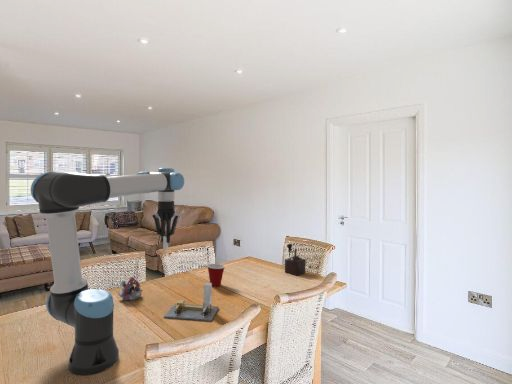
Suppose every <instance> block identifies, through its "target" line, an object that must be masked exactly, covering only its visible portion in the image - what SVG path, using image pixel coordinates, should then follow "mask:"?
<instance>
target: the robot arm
mask: <svg viewBox="0 0 512 384" xmlns="http://www.w3.org/2000/svg"><path fill="white" fill-rule="evenodd" d="M184 185H185V177H184V175H183V174H182V173H181V172H176V171H175V169H174V168H172V167H171V168H167V167H160V168H158V169H157V171H139V172H137V174H126V175H116V176H106V175H105V174H103V173H101V174H99V173H95V174H94V173H93V174H90V173H81V172H72V171H54V170H53V171H49V172H48V171H47V172H44V173H40V174H39V175H37V176H36V178H35V179H34V180H33V181H32V182H31V185H30V195H31V197H32V198H33V200H34V201H35V202H36V203H37V204H38V209H39V214H40V215H42V216H43V217H45V221H46V227H47V228H46V230H47V234H48V243H49V252H50V258H51V259H50V260H51V265H52V266H51V267H52V274H53V282H54V283H53V285H51V287H50V288H49V291H50V293H49V296H48V297H46V302H45V306H46V311H47V312H48V313H47V314H49V315H50V316H51V317H52V318H54V319H55V320H56V321H58V322H61V323H64V324H66V325H68V326H70V327H73V329H74V345H73V348H72V350H71V353H70V355H69V357H68V358H69V359H68V370H69V371H70V372H71V373H72V374H74V375H80V376H84V375H85V376H86V375H87V374H89V375H93V373H94V374H97V372H98V373H100V371H101V372H103V371H105V369H106V370H108V369H109V368H111V367H112V366H114V365H115V364H116V363H115V362H117V361H118V360H119V356H120V355H119V351H120V350H119V347H118V346H117V342H116V340H115V337H114V307H115V304H114V297H113V294H112V293H111V292H109V291H108V290H107V289H106V290H105V289H101V288H99V289H98V288H90V289H89V283H88V279H85V278H84V277H83V274H82V266H81V265H82V264H81V258H80V257H81V255H80V247H79V238H78V237H79V236H78V229H77V222H76V220H77V219H76V213H77V212H78V211H79V210H80V207H84V206H90V205H94V204H95V205H96V204H99V203H106V202H108V200H110V199H115V198H120V197H121V198H122V197H128V196H136V195H142V194H149V193H156V192H157V200H158V201H157V212H156V213H154V214H152V215H151V216H152V218H153V220H154V223H155V229H156V232H157V235H159V236H160V237H161V241H160V242H161V243H162V250H163V251H167V250H168V249H169V244H170V243H171V236H173V235H174V234H175V231H176V228H177V223H178V221H179V219H180V215H179V214H177V213H176V211H175V201H174V200H175V191H180V190H182V189H183V187H184ZM172 218H173V219H172ZM171 222H172V223H171ZM114 363H115V364H114ZM113 364H114V365H113ZM110 366H111V367H110ZM107 368H108V369H107ZM87 376H88V375H87Z"/></svg>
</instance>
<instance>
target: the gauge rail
mask: <svg viewBox="0 0 512 384" xmlns="http://www.w3.org/2000/svg"><path fill="white" fill-rule="evenodd" d="M175 304H176V305H175V310H177V312H178V310H182V309H191V310H203V305H202V306H191V305H192V304H189V305H185V304H186V302H185V299H179V300H178V301H177V303H175ZM212 310H213V307H210V311H212Z"/></svg>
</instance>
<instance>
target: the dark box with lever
mask: <svg viewBox="0 0 512 384" xmlns="http://www.w3.org/2000/svg"><path fill="white" fill-rule="evenodd" d="M286 248H287V249H288V251H287V252H288V253H290V254H291V253H292V254H293V253H294V255H293V256H291V257H289V258H285V259H284V273H285V274H288V275H292V276H295V277H298V276H301V275H304V274H306V266H307V265H306V262H307V261H306V259H305V258H302V257H300V256H299V255H297V252H298V251H297V248H295V249H294V250H293V244H292V243H288V244H286Z"/></svg>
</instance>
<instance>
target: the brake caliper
mask: <svg viewBox="0 0 512 384" xmlns="http://www.w3.org/2000/svg"><path fill="white" fill-rule="evenodd" d="M120 286H121V292H119V293H118V292H117V295H118V296H119V297H120V298H122V300H123V301H131V302H132V301H133V300H134V301H136V300H137V298H138V299H140V298H141V297H142V296H143V295H142V294H143V293H142V292H143V289H141V287H140V286H141V284H140V282H138V281H137V280H136V279H135V277H133V276H131V277H130V278H129V280H128V281H127V283H126V280H121V282H120ZM141 295H142V296H141Z"/></svg>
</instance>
